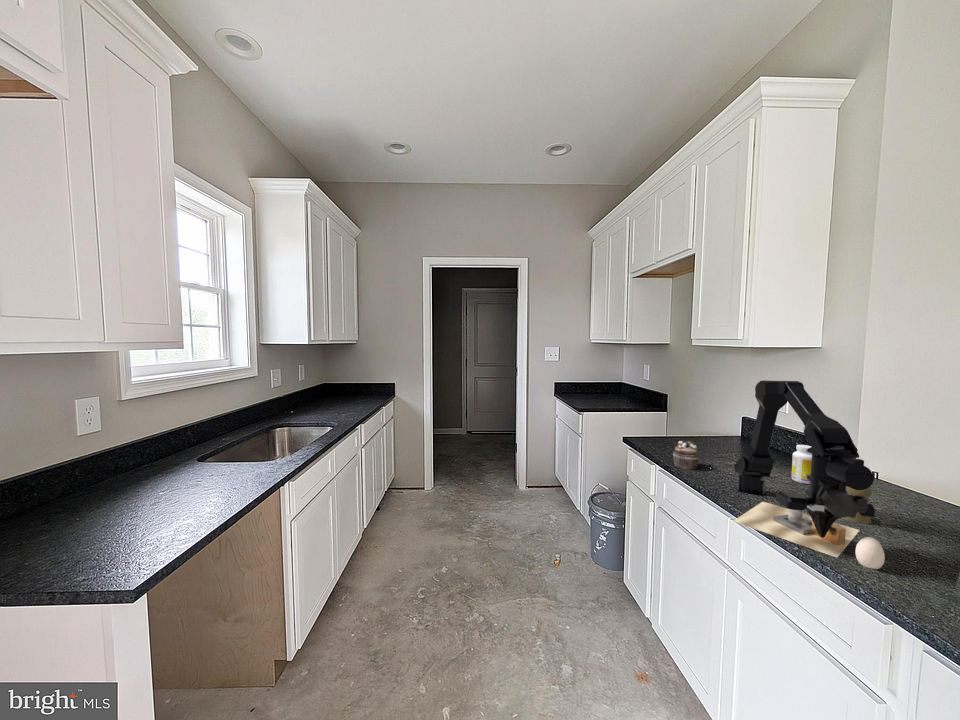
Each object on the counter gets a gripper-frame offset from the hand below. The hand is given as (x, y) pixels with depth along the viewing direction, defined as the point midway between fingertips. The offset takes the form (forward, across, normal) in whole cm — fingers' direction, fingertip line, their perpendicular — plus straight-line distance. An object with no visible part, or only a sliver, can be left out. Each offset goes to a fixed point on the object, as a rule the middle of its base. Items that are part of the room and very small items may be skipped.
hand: (821, 536), depth 98 cm
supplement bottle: (+1, +23, +49) cm, 54 cm away
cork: (+2, +18, +16) cm, 24 cm away
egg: (+3, +4, -9) cm, 10 cm away
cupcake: (+1, -14, +58) cm, 60 cm away
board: (+2, -2, +8) cm, 9 cm away
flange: (+1, +1, +6) cm, 6 cm away
